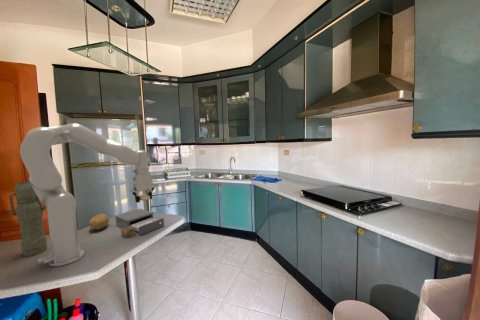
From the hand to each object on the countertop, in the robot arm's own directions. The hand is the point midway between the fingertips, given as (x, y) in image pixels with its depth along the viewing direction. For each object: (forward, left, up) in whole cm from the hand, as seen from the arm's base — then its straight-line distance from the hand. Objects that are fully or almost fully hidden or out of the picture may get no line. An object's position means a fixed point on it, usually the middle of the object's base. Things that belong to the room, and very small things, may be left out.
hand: (144, 200), depth 123 cm
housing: (0, +14, -17) cm, 22 cm away
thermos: (-45, +23, -18) cm, 53 cm away
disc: (0, 0, +1) cm, 1 cm away
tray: (0, +1, -17) cm, 17 cm away
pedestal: (-11, 0, -17) cm, 21 cm away
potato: (-16, +26, -18) cm, 35 cm away
